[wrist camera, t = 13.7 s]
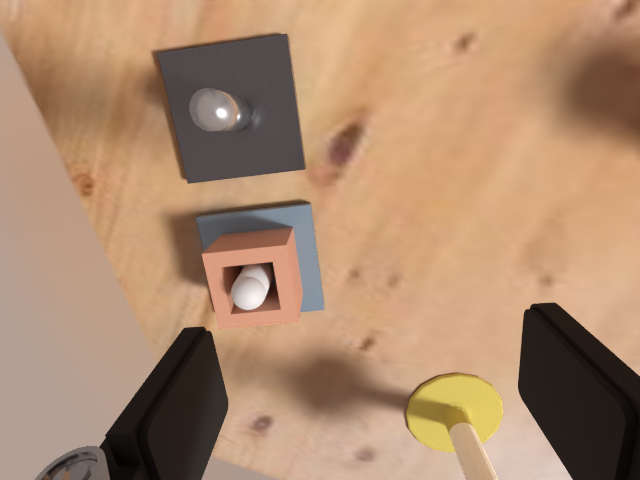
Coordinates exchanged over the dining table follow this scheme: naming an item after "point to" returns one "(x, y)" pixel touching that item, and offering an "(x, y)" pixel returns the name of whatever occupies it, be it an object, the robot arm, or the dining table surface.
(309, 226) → the blue peg base
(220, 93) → the stand
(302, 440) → the dining table surface
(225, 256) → the collar
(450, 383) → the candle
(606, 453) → the robot arm
